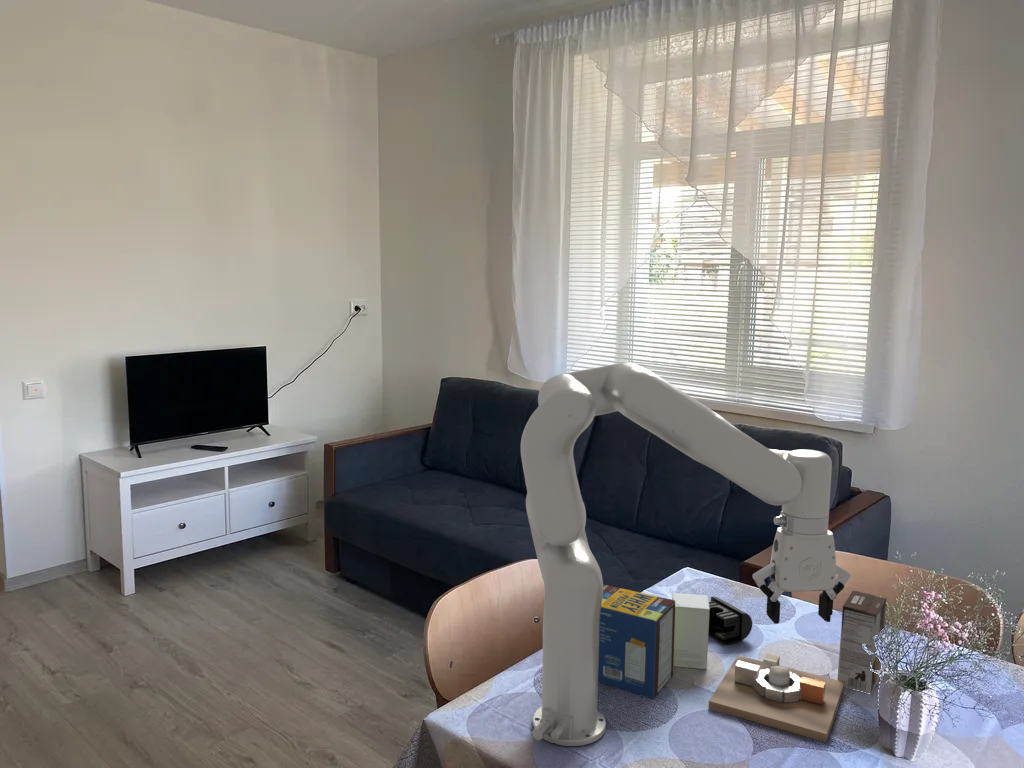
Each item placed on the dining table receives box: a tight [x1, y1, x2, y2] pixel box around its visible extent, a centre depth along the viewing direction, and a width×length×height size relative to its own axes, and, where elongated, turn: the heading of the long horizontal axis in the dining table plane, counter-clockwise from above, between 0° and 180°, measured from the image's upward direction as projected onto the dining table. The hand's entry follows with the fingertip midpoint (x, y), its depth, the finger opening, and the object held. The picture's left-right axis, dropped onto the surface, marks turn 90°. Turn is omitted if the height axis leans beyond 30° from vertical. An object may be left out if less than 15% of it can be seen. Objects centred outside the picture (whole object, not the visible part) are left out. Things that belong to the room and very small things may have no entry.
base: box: [708, 652, 845, 743], centre depth 146 cm, size 20×20×6 cm
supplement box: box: [671, 592, 710, 670], centre depth 160 cm, size 7×7×13 cm
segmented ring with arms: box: [734, 661, 825, 705], centre depth 146 cm, size 16×8×3 cm, turn 60°
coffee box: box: [837, 590, 887, 695], centre depth 152 cm, size 9×6×16 cm
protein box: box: [598, 584, 675, 700], centre depth 153 cm, size 10×15×16 cm
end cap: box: [708, 596, 753, 647], centre depth 172 cm, size 10×7×7 cm
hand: (798, 619), depth 138 cm, fingers open, 8 cm apart
